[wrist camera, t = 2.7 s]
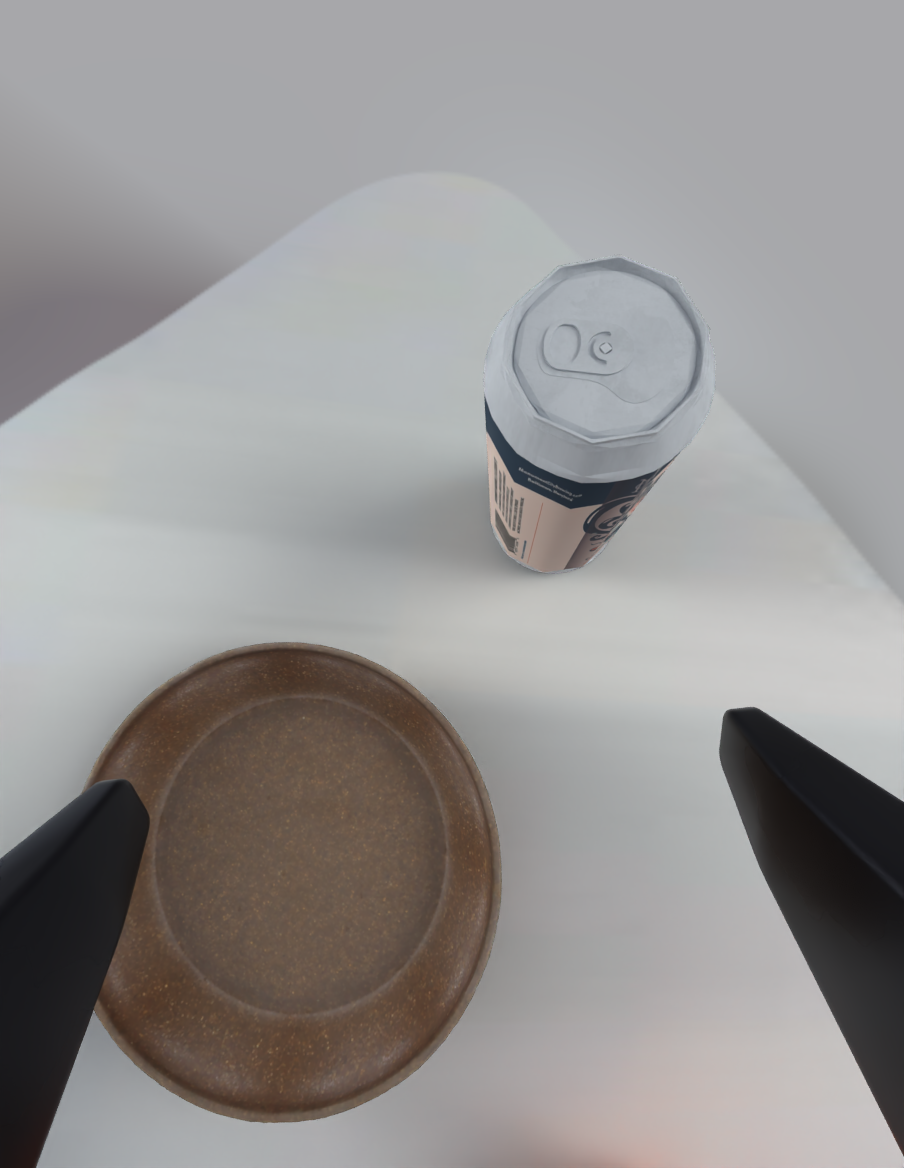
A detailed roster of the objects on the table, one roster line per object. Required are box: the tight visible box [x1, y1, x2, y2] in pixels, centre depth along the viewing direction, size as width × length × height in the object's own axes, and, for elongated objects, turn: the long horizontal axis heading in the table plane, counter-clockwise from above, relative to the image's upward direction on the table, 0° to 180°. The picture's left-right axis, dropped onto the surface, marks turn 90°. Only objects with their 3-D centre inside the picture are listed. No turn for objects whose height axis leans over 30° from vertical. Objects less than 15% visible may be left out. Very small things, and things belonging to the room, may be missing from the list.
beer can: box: [483, 255, 716, 574], centre depth 17 cm, size 5×5×12 cm
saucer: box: [82, 642, 502, 1123], centre depth 21 cm, size 15×15×3 cm
